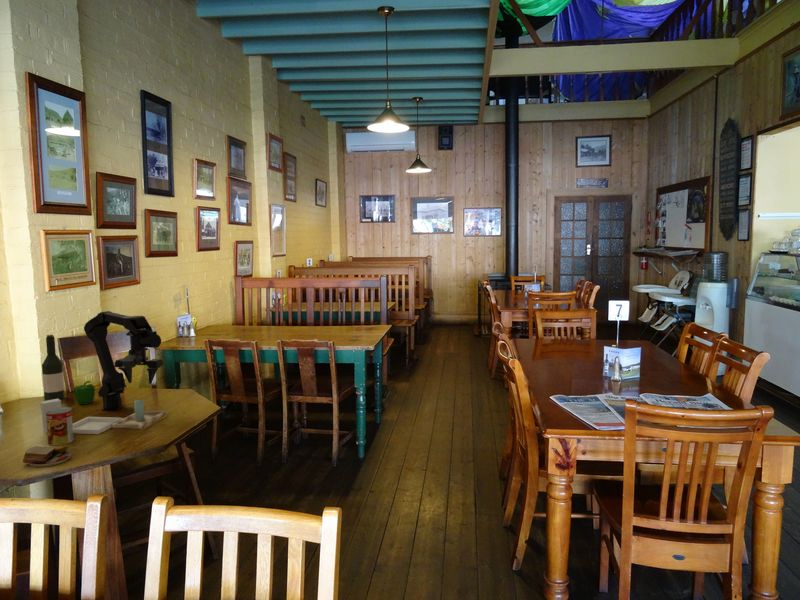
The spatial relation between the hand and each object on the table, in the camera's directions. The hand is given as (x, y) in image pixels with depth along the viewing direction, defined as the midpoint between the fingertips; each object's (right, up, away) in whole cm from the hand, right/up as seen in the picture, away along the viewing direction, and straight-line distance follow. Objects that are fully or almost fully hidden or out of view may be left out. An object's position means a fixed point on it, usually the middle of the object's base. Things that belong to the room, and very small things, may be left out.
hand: (140, 383), depth 238 cm
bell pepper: (-33, -12, +18) cm, 39 cm away
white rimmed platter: (-10, -15, -17) cm, 25 cm away
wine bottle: (-51, -11, +25) cm, 58 cm away
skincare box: (-24, -16, -20) cm, 35 cm away
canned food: (-14, -17, -33) cm, 39 cm away
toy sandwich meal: (-7, -19, -50) cm, 54 cm away
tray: (+5, -14, -10) cm, 18 cm away
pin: (+5, -13, -10) cm, 18 cm away
